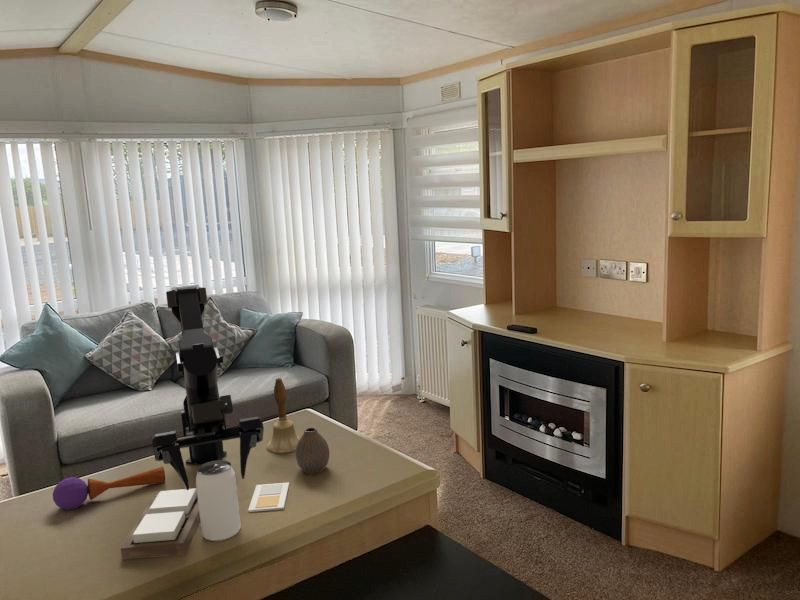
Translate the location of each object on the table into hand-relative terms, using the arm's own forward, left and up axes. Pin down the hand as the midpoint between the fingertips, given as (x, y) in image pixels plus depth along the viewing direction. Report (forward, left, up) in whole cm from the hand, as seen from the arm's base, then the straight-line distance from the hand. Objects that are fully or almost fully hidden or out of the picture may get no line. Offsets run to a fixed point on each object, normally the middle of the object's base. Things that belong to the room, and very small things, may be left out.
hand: (216, 483), depth 111 cm
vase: (+6, +25, -9) cm, 27 cm away
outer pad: (-8, -6, -7) cm, 12 cm away
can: (+1, -1, -9) cm, 9 cm away
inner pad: (-11, +2, -7) cm, 13 cm away
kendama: (-29, +6, -9) cm, 31 cm away
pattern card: (+3, +12, -9) cm, 15 cm away
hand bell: (-6, +35, -9) cm, 37 cm away
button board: (-9, -2, -9) cm, 13 cm away
